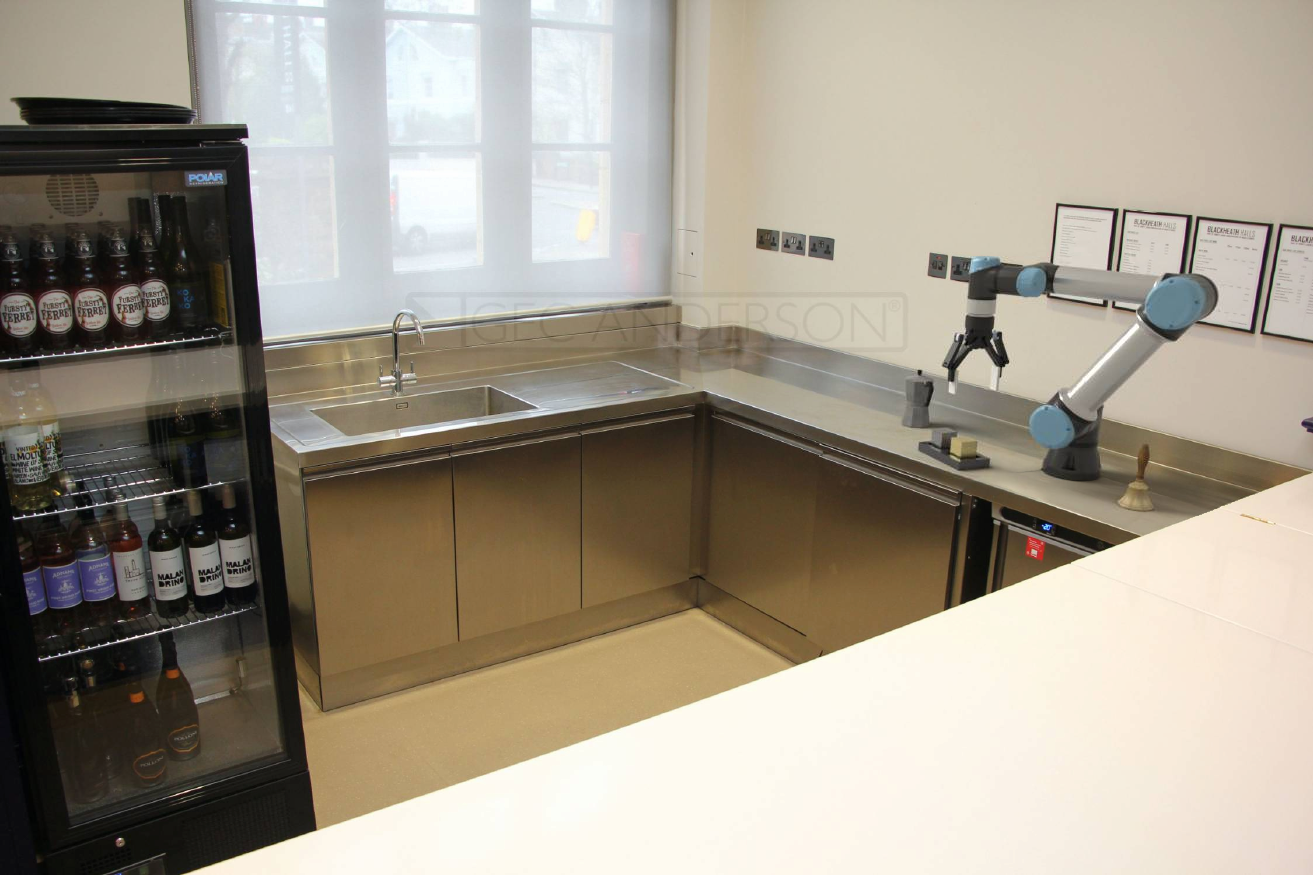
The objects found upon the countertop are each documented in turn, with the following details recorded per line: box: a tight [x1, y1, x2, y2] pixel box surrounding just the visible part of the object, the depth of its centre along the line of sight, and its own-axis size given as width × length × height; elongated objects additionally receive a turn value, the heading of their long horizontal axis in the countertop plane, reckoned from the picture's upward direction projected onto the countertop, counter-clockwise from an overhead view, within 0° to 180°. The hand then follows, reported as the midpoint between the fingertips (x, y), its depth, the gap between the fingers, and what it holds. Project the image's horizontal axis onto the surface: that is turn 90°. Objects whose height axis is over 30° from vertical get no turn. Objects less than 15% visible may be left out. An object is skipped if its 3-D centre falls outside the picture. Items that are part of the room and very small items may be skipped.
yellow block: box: [950, 435, 978, 460], centre depth 282 cm, size 5×5×7 cm
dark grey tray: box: [917, 440, 991, 471], centre depth 287 cm, size 20×10×3 cm, turn 18°
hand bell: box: [1116, 443, 1154, 512], centre depth 250 cm, size 8×8×16 cm
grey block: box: [930, 427, 958, 450], centre depth 291 cm, size 5×5×7 cm
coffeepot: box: [901, 369, 935, 429], centre depth 321 cm, size 15×9×18 cm, turn 14°
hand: (973, 391), depth 278 cm, fingers open, 13 cm apart
